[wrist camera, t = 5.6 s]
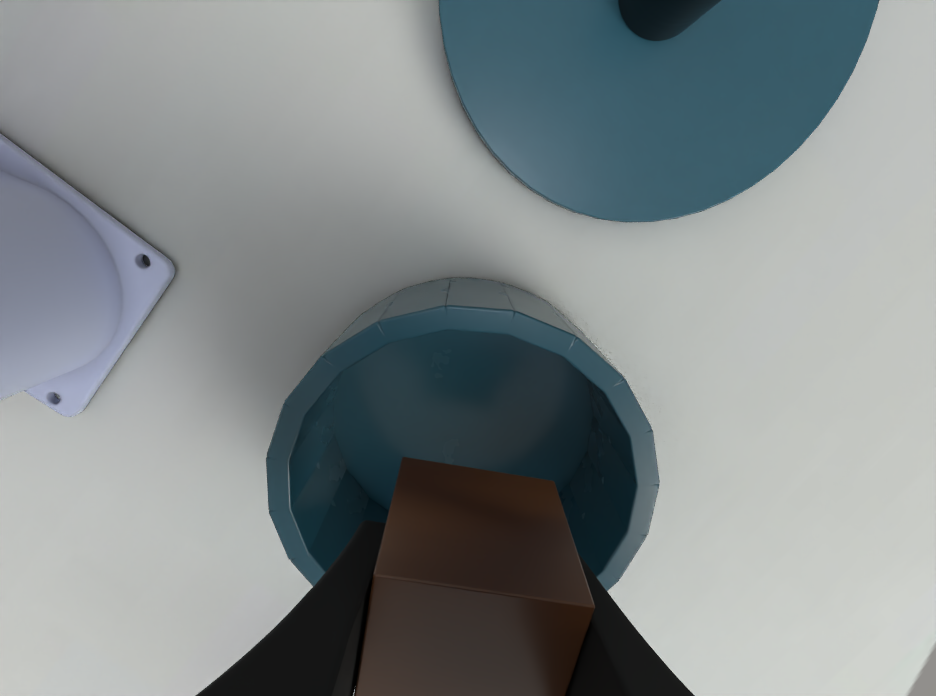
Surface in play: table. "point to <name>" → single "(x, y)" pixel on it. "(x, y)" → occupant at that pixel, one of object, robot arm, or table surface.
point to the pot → (461, 420)
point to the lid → (649, 93)
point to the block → (473, 588)
